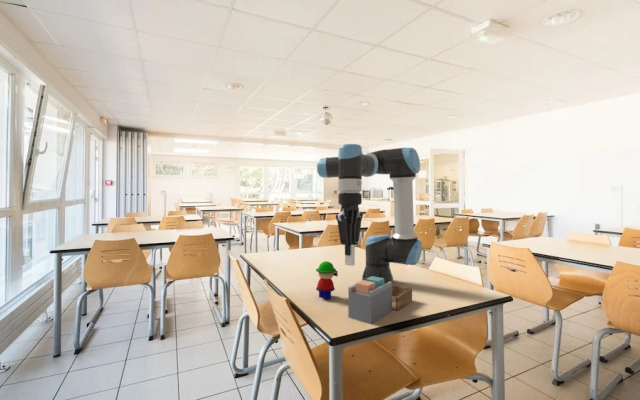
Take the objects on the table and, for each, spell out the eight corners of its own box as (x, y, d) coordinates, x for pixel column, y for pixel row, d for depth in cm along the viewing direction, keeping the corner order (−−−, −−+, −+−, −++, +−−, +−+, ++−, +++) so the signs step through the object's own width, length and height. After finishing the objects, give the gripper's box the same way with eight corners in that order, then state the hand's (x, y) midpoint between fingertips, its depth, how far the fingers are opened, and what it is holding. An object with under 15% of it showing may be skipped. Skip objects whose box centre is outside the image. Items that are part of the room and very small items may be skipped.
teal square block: (365, 286, 112) (365, 278, 112) (372, 283, 115) (372, 276, 115) (377, 289, 108) (377, 281, 108) (384, 286, 112) (384, 278, 112)
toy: (312, 295, 130) (312, 260, 130) (329, 292, 134) (329, 258, 133) (321, 301, 122) (321, 264, 122) (339, 298, 125) (340, 262, 125)
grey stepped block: (348, 317, 106) (348, 287, 106) (370, 304, 119) (370, 277, 119) (371, 323, 101) (371, 292, 101) (392, 309, 113) (392, 281, 113)
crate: (366, 303, 120) (366, 290, 120) (382, 294, 131) (382, 282, 131) (397, 311, 112) (397, 297, 112) (412, 300, 123) (412, 288, 123)
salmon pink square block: (355, 291, 106) (355, 283, 106) (362, 288, 110) (362, 280, 110) (368, 294, 103) (368, 285, 103) (375, 290, 107) (375, 282, 107)
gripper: (348, 192, 91) (348, 270, 91) (370, 192, 101) (369, 263, 101) (328, 192, 96) (328, 266, 96) (351, 192, 106) (350, 260, 106)
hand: (349, 264), depth 98 cm, fingers closed
